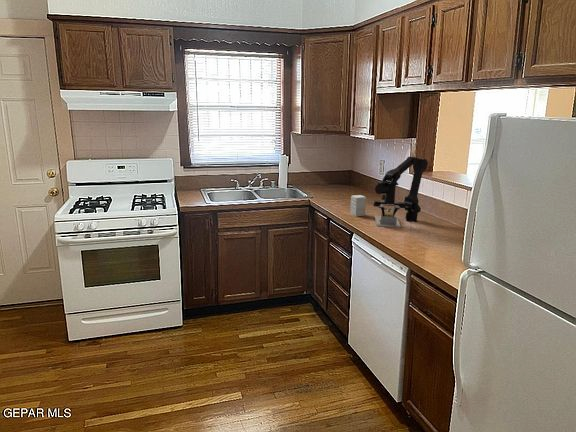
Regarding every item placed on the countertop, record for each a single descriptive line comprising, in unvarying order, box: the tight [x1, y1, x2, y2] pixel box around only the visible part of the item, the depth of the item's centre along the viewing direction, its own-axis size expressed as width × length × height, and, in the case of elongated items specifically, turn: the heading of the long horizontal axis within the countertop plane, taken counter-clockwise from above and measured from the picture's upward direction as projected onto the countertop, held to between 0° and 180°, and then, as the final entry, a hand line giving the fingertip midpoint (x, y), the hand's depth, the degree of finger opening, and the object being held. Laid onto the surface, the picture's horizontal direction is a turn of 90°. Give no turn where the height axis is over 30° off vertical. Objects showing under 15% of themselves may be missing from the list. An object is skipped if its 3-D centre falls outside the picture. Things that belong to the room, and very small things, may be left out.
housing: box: [384, 209, 394, 217], centre depth 268 cm, size 5×5×7 cm
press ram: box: [380, 207, 392, 216], centre depth 280 cm, size 7×8×5 cm
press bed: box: [374, 215, 401, 228], centre depth 274 cm, size 14×22×6 cm, turn 172°
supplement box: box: [349, 194, 367, 217], centre depth 290 cm, size 7×7×13 cm
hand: (388, 218), depth 269 cm, fingers closed on housing, 5 cm apart
